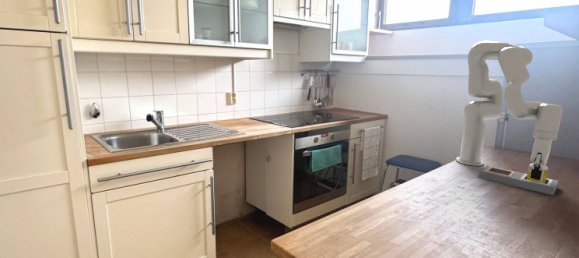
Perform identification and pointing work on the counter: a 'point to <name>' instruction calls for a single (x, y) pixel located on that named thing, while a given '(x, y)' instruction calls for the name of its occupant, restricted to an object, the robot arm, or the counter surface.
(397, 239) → the counter surface
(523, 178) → the socket stand
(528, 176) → the pill bottle
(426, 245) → the counter surface
